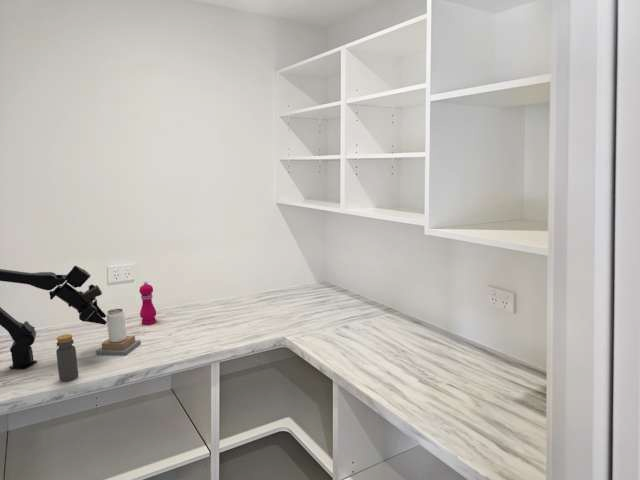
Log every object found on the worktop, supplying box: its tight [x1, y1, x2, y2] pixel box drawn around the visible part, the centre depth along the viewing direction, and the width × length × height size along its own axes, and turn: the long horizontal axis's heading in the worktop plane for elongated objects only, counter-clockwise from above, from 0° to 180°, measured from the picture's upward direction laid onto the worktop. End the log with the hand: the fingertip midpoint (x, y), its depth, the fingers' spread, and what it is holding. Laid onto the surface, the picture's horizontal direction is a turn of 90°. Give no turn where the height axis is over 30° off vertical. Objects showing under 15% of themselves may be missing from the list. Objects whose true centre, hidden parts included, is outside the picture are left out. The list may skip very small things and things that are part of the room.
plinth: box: [95, 335, 141, 356], centre depth 185 cm, size 12×12×4 cm
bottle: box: [55, 333, 79, 382], centre depth 159 cm, size 6×6×15 cm
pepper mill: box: [138, 280, 157, 326], centre depth 216 cm, size 7×7×20 cm
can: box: [106, 308, 127, 343], centre depth 184 cm, size 6×6×12 cm
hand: (105, 320), depth 182 cm, fingers open, 9 cm apart
